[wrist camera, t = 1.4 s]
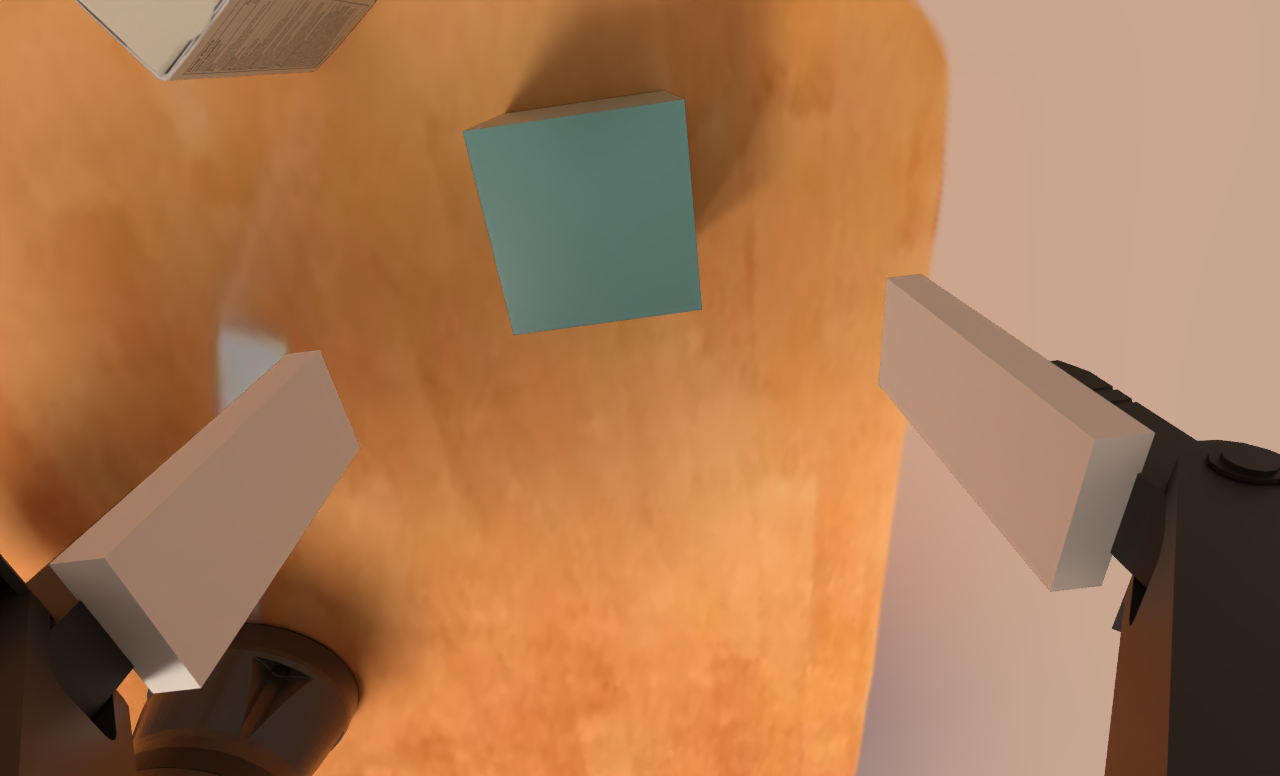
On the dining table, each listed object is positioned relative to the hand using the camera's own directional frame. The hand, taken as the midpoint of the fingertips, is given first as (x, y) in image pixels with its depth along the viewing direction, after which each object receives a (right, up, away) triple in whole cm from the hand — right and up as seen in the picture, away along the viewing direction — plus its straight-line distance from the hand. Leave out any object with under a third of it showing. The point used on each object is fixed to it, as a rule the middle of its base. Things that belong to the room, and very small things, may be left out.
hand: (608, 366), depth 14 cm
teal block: (-2, +10, +18) cm, 21 cm away
